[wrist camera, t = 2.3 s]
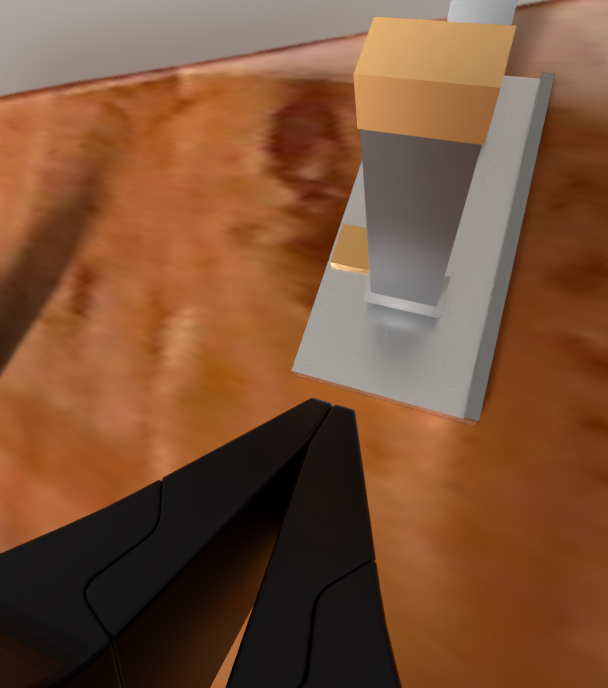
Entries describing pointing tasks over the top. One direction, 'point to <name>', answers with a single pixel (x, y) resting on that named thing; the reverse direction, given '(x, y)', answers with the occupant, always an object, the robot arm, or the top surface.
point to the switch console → (463, 267)
